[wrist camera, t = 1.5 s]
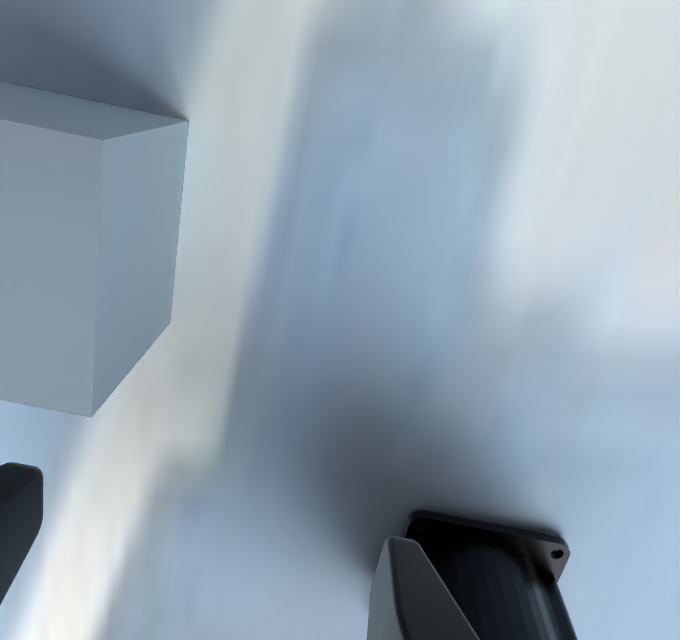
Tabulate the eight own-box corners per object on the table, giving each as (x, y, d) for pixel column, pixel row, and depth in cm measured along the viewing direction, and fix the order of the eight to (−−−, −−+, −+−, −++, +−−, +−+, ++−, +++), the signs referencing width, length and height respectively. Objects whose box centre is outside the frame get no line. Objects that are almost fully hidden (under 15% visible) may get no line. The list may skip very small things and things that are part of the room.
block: (189, 120, 19) (102, 140, 13) (170, 321, 21) (91, 417, 15) (-32, 74, 18) (-228, 71, 12) (-24, 282, 21) (-182, 363, 15)
